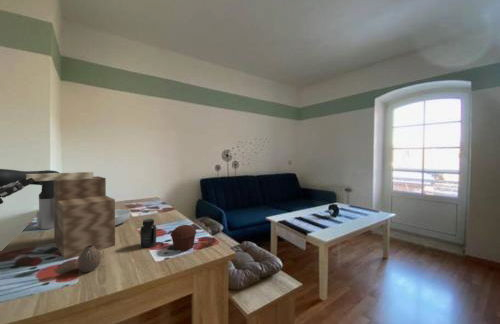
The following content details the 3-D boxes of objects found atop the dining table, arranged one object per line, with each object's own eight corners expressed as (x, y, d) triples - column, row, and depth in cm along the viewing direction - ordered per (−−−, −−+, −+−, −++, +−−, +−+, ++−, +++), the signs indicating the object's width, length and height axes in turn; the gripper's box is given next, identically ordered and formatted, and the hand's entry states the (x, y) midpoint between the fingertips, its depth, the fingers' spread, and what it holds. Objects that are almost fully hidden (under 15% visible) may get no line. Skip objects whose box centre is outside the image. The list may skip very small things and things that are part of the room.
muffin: (189, 240, 103) (189, 220, 103) (201, 247, 95) (201, 226, 95) (166, 247, 95) (166, 226, 95) (176, 255, 87) (176, 232, 87)
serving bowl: (137, 222, 128) (137, 212, 128) (99, 233, 111) (99, 220, 111) (120, 217, 139) (120, 207, 139) (83, 225, 122) (83, 214, 122)
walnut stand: (63, 260, 82) (63, 184, 81) (54, 242, 98) (53, 178, 98) (115, 245, 96) (114, 180, 95) (99, 231, 112) (98, 176, 111)
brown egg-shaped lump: (86, 264, 79) (86, 242, 79) (105, 264, 79) (104, 242, 79) (72, 275, 72) (72, 250, 72) (92, 274, 72) (92, 250, 72)
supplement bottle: (159, 243, 99) (159, 218, 99) (148, 249, 93) (148, 223, 92) (148, 240, 101) (148, 217, 101) (137, 246, 95) (137, 221, 95)
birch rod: (26, 181, 86) (26, 174, 86) (26, 181, 88) (26, 174, 88) (93, 178, 103) (93, 172, 103) (92, 177, 105) (92, 171, 105)
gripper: (-31, 197, 72) (27, 172, 82) (-27, 192, 81) (25, 170, 91) (-14, 213, 75) (40, 187, 85) (-11, 206, 84) (37, 184, 94)
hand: (32, 178), depth 88 cm, fingers open, 8 cm apart
